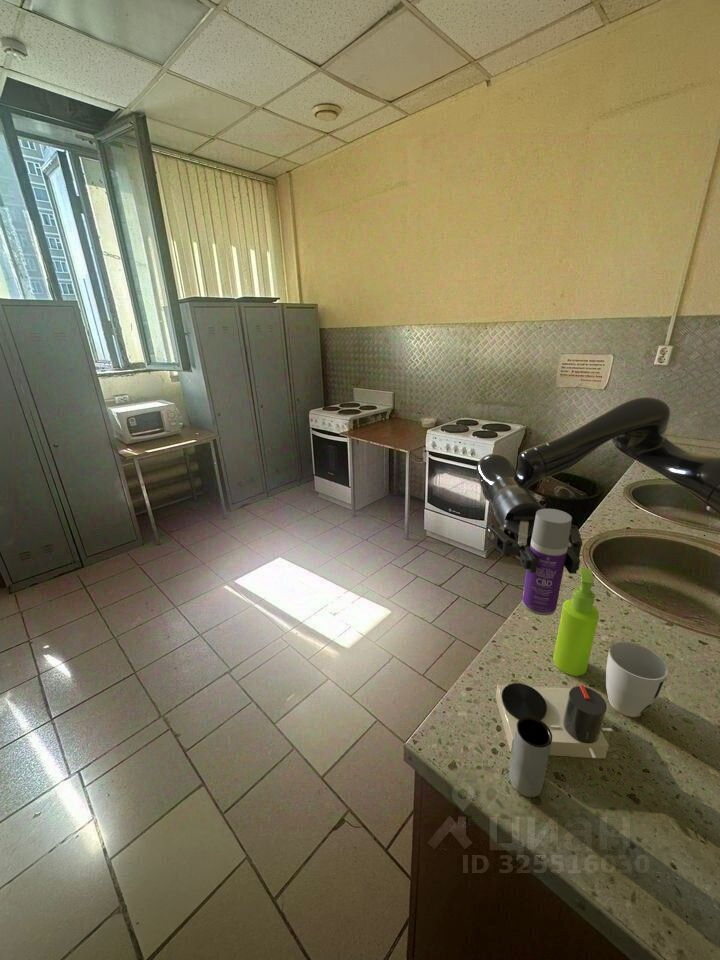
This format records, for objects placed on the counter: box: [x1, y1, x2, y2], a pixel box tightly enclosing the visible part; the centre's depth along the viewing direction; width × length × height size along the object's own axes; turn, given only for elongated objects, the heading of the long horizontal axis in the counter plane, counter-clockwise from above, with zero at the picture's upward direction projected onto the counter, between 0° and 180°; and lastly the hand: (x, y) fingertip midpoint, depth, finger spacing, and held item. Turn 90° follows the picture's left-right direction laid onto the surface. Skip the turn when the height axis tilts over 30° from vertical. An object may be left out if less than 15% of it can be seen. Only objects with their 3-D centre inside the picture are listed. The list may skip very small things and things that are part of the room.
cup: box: [605, 641, 669, 718], centre depth 67 cm, size 8×8×10 cm
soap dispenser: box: [552, 566, 600, 677], centre depth 74 cm, size 6×7×20 cm
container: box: [521, 508, 573, 616], centre depth 56 cm, size 5×5×15 cm
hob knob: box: [563, 684, 608, 744], centre depth 60 cm, size 5×5×6 cm
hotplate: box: [502, 682, 547, 720], centre depth 66 cm, size 7×7×1 cm
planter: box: [508, 716, 552, 798], centre depth 56 cm, size 4×4×10 cm
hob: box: [495, 684, 613, 760], centre depth 64 cm, size 16×12×3 cm
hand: (554, 567), depth 53 cm, fingers closed on container, 4 cm apart
